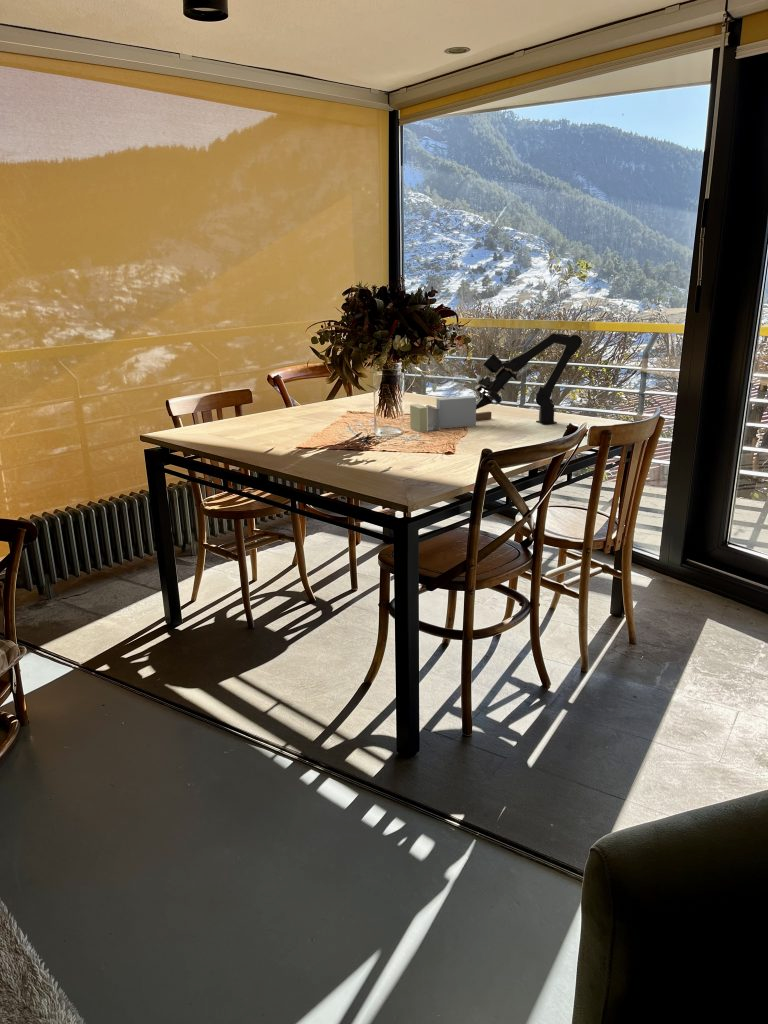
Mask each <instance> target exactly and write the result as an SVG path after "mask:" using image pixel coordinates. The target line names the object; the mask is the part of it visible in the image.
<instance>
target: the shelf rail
mask: <svg viewBox="0 0 768 1024" xmlns="http://www.w3.org/2000/svg"><path fill="white" fill-rule="evenodd" d="M491 419H492V411H489V410H488V411H482V412H481V411H480V412H476V422H477V421H482V420H483V421H485V420H491Z"/></svg>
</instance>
